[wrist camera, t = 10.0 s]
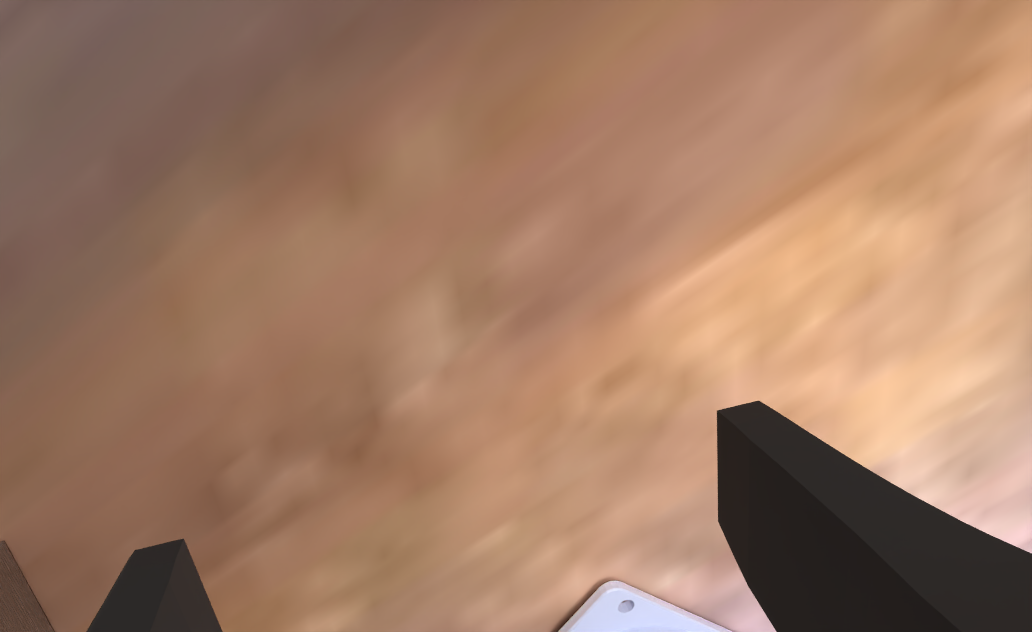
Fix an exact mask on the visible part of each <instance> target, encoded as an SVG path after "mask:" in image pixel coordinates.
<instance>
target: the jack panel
mask: <svg viewBox="0 0 1032 632" xmlns="http://www.w3.org/2000/svg"><path fill="white" fill-rule="evenodd" d="M0 632H54V631H53V629H52V627H51V625H50V623H49V622H48V620H47V618H46V616H45V614H44V613H43V611H42V609H41V607H40V605H39V603H38V602H37V600H36V598H35V596H34V594H33V593H32V591H31V589H30V587H29V585H28V584H27V582H26V580H25V578H24V576H23V574H22V573H21V571H20V569H19V567H18V565H17V564H16V562H15V560H14V558H13V556H12V555H11V553H10V551H9V549H8V547H7V545H6V544H5V542H4V541H2V542H0Z"/></svg>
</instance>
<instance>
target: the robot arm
mask: <svg viewBox="0 0 1032 632" xmlns="http://www.w3.org/2000/svg"><path fill="white" fill-rule="evenodd" d="M717 454H718V522H719V524H720V526H721V529H722V531H723V533H724V535H725V537H726V540H727V542H728V544H729V546H730V549H731V551H732V553H733V555H734V557H735V559H736V562H737V564H738V566H739V568H740V570H741V572H742V574H743V576H744V578H745V580H746V582H747V584H748V586H749V588H750V589H751V591H752V593H753V594H754V596H755V598H756V599H757V601H758V603H759V604H760V606H761V607H762V609H763V611H764V612H765V614H766V615H767V617H768V619H769V620H770V622H771V623H772V625H773V627H774V628H775V630H776V631H777V632H1032V554H1031V553H1029V552H1027V551H1025V550H1022V549H1020V548H1018V547H1016V546H1013V545H1011V544H1009V543H1007V542H1004V541H1002V540H1000V539H998V538H995V537H993V536H991V535H989V534H987V533H985V532H983V531H981V530H978V529H976V528H974V527H972V526H970V525H968V524H966V523H964V522H962V521H960V520H958V519H956V518H954V517H953V516H951V515H949V514H947V513H945V512H943V511H941V510H939V509H937V508H936V507H934V506H932V505H930V504H928V503H926V502H924V501H922V500H920V499H919V498H917V497H915V496H913V495H911V494H910V493H908V492H906V491H904V490H903V489H901V488H899V487H897V486H895V485H894V484H892V483H890V482H889V481H887V480H885V479H883V478H882V477H880V476H878V475H877V474H875V473H873V472H872V471H870V470H868V469H867V468H865V467H863V466H862V465H860V464H858V463H857V462H855V461H853V460H852V459H850V458H849V457H847V456H845V455H844V454H842V453H841V452H839V451H837V450H836V449H834V448H833V447H831V446H829V445H828V444H826V443H825V442H823V441H822V440H820V439H818V438H817V437H815V436H814V435H812V434H811V433H809V432H807V431H806V430H804V429H803V428H801V427H800V426H798V425H797V424H795V423H794V422H792V421H790V420H789V419H787V418H786V417H784V416H783V415H781V414H780V413H778V412H776V411H775V410H773V409H772V408H770V407H768V406H767V405H765V404H764V403H762V402H760V401H755V402H751V403H747V404H743V405H738V406H734V407H730V408H726V409H722V410H718V411H717ZM626 600H627V601H626ZM623 601H626V602H623ZM622 602H623V603H622ZM87 632H222V630H221V627H220V625H219V623H218V620H217V618H216V615H215V613H214V610H213V608H212V606H211V603H210V601H209V598H208V596H207V594H206V591H205V589H204V586H203V584H202V582H201V579H200V577H199V574H198V572H197V569H196V567H195V565H194V562H193V560H192V557H191V555H190V553H189V550H188V548H187V545H186V543H185V541H184V539H180V540H176V541H171V542H167V543H163V544H159V545H155V546H151V547H146V548H142V549H138V550H135V551H134V552H133V554H132V555H131V557H130V558H129V560H128V561H127V563H126V565H125V566H124V568H123V570H122V572H121V573H120V575H119V577H118V578H117V580H116V582H115V584H114V585H113V587H112V589H111V591H110V592H109V594H108V596H107V598H106V599H105V601H104V603H103V605H102V606H101V608H100V610H99V611H98V613H97V615H96V617H95V618H94V620H93V622H92V623H91V625H90V627H89V628H88V630H87ZM558 632H732V631H730V630H728V629H726V628H723V627H721V626H719V625H717V624H714V623H712V622H710V621H708V620H706V619H703V618H701V617H699V616H697V615H694V614H692V613H690V612H688V611H685V610H683V609H681V608H679V607H677V606H674V605H672V604H670V603H668V602H665V601H663V600H661V599H659V598H656V597H654V596H652V595H650V594H647V593H645V592H643V591H641V590H639V589H636V588H634V587H632V586H630V585H627V584H625V583H623V582H620V581H609V582H606V583H604V584H603V585H602V586H600V587H599V588H598V589H597V590H596V591H595V592H594V594H593V595H592V596H591V597H590V598H589V599H588V600H587V601H586V602H585V603H584V604H583V605H582V606H581V607H580V609H579V610H578V611H577V612H576V613H575V614H574V615H573V616H572V617H571V618H570V619H569V620H568V621H567V623H566V624H565V625H564V626H563V627H562V628H561V629H560V630H559V631H558Z"/></svg>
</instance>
